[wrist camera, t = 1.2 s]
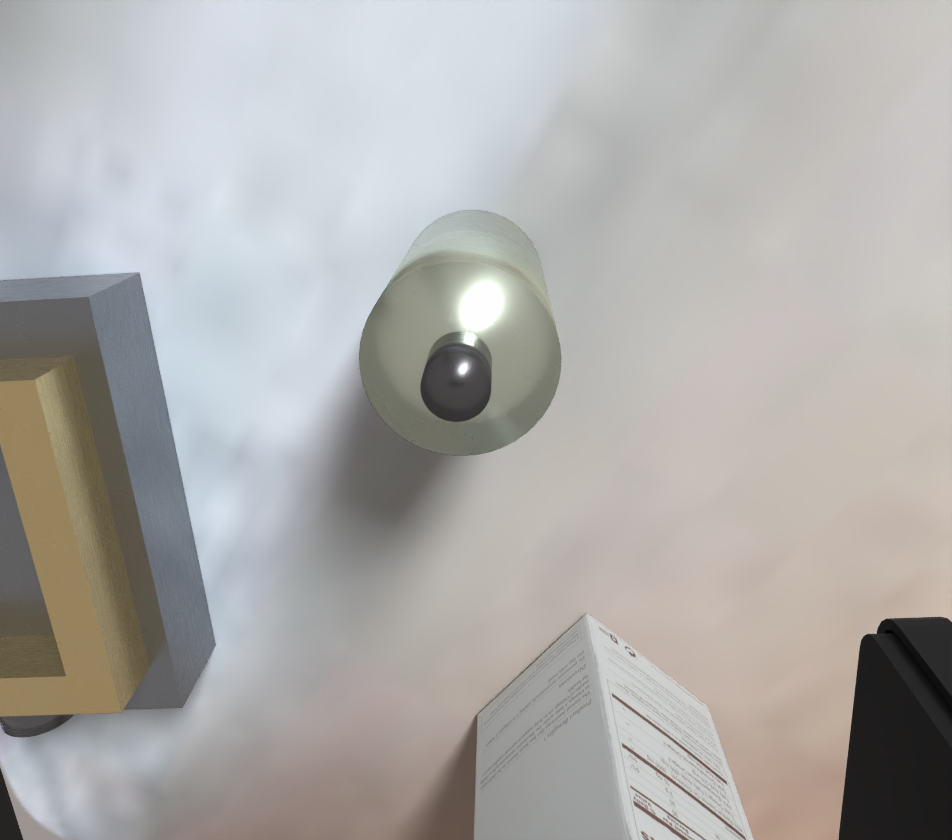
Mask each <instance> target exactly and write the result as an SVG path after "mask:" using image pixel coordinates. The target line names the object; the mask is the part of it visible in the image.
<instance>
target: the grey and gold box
mask: <svg viewBox="0 0 952 840" xmlns="http://www.w3.org/2000/svg"><path fill="white" fill-rule="evenodd" d="M215 645H216V644H215V639H214V634H213V629H212V624H211V619H210V615H209V610H208V605H207V600H206V595H205V590H204V585H203V580H202V576H201V571H200V566H199V561H198V556H197V551H196V546H195V541H194V536H193V532H192V527H191V522H190V517H189V512H188V507H187V502H186V497H185V493H184V488H183V483H182V478H181V473H180V468H179V463H178V458H177V454H176V449H175V444H174V439H173V434H172V429H171V424H170V419H169V415H168V410H167V405H166V400H165V395H164V390H163V385H162V380H161V375H160V371H159V366H158V361H157V356H156V351H155V346H154V341H153V336H152V332H151V327H150V322H149V317H148V312H147V307H146V302H145V297H144V293H143V288H142V283H141V278H140V273H123V274H106V275H89V276H72V277H55V278H37V279H20V280H3V281H0V723H1V726H2V729H3V731H4V732H5V733H6V734H8V735H10V736H14V737H30V736H35V735H39V734H42V733H45V732H48V731H50V730H52V729H55V728H56V727H58V726H60V725H62V724H63V723H65V722H66V721H67V720H69V719H70V718H71V717H72V716H73V715H74V714H96V713H122V711H123V710H126V709H157V708H183V706H184V704H185V702H186V700H187V698H188V696H189V694H190V693H191V691H192V689H193V687H194V685H195V683H196V681H197V679H198V677H199V675H200V673H201V672H202V670H203V668H204V666H205V664H206V662H207V660H208V658H209V656H210V654H211V652H212V651H213V649H214V647H215Z"/></svg>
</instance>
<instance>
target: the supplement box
mask: <svg viewBox="0 0 952 840" xmlns="http://www.w3.org/2000/svg"><path fill="white" fill-rule="evenodd" d="M474 840H754V839H753V836H752V833H751V830H750V827H749V824H748V821H747V819H746V816H745V813H744V810H743V807H742V804H741V801H740V798H739V795H738V792H737V789H736V787H735V784H734V781H733V777H732V774H731V772H730V770H729V766H728V763H727V760H726V758H725V755H724V752H723V749H722V746H721V743H720V740H719V737H718V734H717V731H716V729H715V726H714V723H713V720H712V717H711V714H710V712H709V709H708V707H707V706H706V705H705V704H704V703H702V702H701V701H700V700H698V699H697V698H696V697H695V696H694V695H692V694H691V693H690V692H689V691H687V690H686V689H685V688H684V687H682V686H681V685H680V684H678V683H677V682H676V681H674V680H673V679H672V678H671V677H669V676H668V675H667V674H665V673H664V672H663V671H662V670H660V669H659V668H658V667H656V666H655V665H654V664H653V663H652V662H650V661H649V660H648V659H646V658H645V657H644V656H643V655H641V654H640V653H639V652H637V651H636V650H635V649H633V648H632V647H631V646H630V645H629V644H627V643H626V642H625V641H623V640H622V639H621V638H619V637H618V636H617V635H615V634H614V633H613V632H612V631H610V630H609V629H607V628H606V627H605V626H604V625H602V624H601V623H600V622H599V621H597V620H596V619H595V618H593V617H592V616H591V615H589V614H585V615H584V616H583V617H582V618H581V619H580V620H579V621H578V622H577V623H576V624H574V625H573V626H572V627H571V628H570V629H569V630H568V631H567V632H566V633H565V634H563V635H562V636H561V637H560V638H559V639H558V640H557V641H556V642H555V643H554V644H553V645H552V646H551V647H550V648H549V649H547V650H546V651H545V652H544V653H543V654H542V655H541V656H540V657H539V658H538V659H537V660H536V661H535V662H534V663H533V664H531V665H530V666H529V667H528V668H527V669H526V670H525V671H524V672H523V673H522V674H521V675H520V676H519V677H518V678H517V679H515V680H514V681H513V682H512V683H511V684H510V685H509V686H508V687H507V688H506V689H505V690H504V691H503V692H502V693H500V694H499V695H498V696H497V697H496V698H495V699H494V700H493V701H492V702H491V703H490V704H489V705H488V706H487V707H485V708H484V709H483V710H482V711H481V712H480V713H479V714H478V715H477V749H476V783H475V814H474Z"/></svg>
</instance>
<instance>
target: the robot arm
mask: <svg viewBox="0 0 952 840" xmlns="http://www.w3.org/2000/svg"><path fill="white" fill-rule="evenodd" d="M0 840H23V838H22V834H21V832H20V828H19V825H18V822H17V819H16V816H15V813H14V809H13V806H12V803H11V800H10V797H9V794H8V791H7V787H6V784H5V781H4V778H3V775H2V772H1V769H0ZM839 840H952V622H951V621H950V620H949V619H947V618H943V617H924V618H894V619H885V620H883V621H882V622H881V624H880V625H879V627H878V630H877V634H867V635H865V636H864V637H863V639H862V640H861V645H860V651H859V660H858V669H857V678H856V687H855V696H854V705H853V714H852V723H851V732H850V741H849V750H848V759H847V768H846V777H845V786H844V795H843V804H842V813H841V822H840V831H839Z"/></svg>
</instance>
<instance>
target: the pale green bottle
mask: <svg viewBox="0 0 952 840" xmlns="http://www.w3.org/2000/svg"><path fill="white" fill-rule="evenodd" d="M359 363H360V372H361V378H362V382H363V385H364V388H365V391H366V394H367V396H368V398H369V400H370V402H371V404H372V405H373V407H374V409H375V410H376V412H377V413H378V415H379V416H380V417H381V418H382V419H383V421H384V422H385V423H386V424H387V425H388V426H389V427H390V428H391V429H392V430H394V431H395V432H396V433H397V434H399V435H400V436H401V437H403V438H404V439H406V440H407V441H409V442H411V443H413V444H415V445H416V446H419V447H421V448H424V449H426V450H429V451H433V452H436V453H440V454H447V455H454V456H468V455H478V454H483V453H487V452H491V451H494V450H497V449H500V448H502V447H505V446H507V445H508V444H510V443H512V442H514V441H516V440H517V439H519V438H520V437H522V436H523V435H525V434H526V433H527V432H528V431H529V430H530V429H531V428H532V427H534V426H535V424H536V423H537V422H538V421H539V420H540V419H541V417H542V416H543V415H544V413H545V412H546V410H547V409H548V407H549V405H550V403H551V401H552V399H553V397H554V395H555V392H556V389H557V386H558V383H559V377H560V372H561V350H560V343H559V338H558V334H557V330H556V326H555V321H554V317H553V313H552V309H551V304H550V300H549V296H548V292H547V288H546V283H545V279H544V275H543V271H542V266H541V262H540V258H539V256H538V253H537V251H536V249H535V247H534V245H533V243H532V242H531V240H530V239H529V238H528V236H527V235H526V234H525V233H524V232H523V231H522V230H521V229H520V228H519V227H518V226H517V225H515V224H514V223H513V222H511V221H510V220H508V219H506V218H505V217H502V216H500V215H498V214H495V213H491V212H488V211H482V210H464V211H458V212H454V213H450V214H448V215H445V216H443V217H441V218H439V219H437V220H436V221H434V222H433V223H431V224H430V225H429V226H427V227H426V228H425V229H424V230H423V231H422V232H421V233H420V234H419V236H418V237H417V238H416V240H415V241H414V243H413V244H412V246H411V248H410V249H409V251H408V252H407V254H406V256H405V257H404V259H403V261H402V262H401V264H400V265H399V267H398V269H397V270H396V272H395V273H394V275H393V277H392V278H391V280H390V282H389V283H388V285H387V286H386V288H385V290H384V291H383V293H382V295H381V296H380V298H379V299H378V301H377V303H376V304H375V306H374V308H373V309H372V311H371V313H370V315H369V317H368V319H367V321H366V324H365V326H364V329H363V333H362V337H361V341H360V351H359Z"/></svg>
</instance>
